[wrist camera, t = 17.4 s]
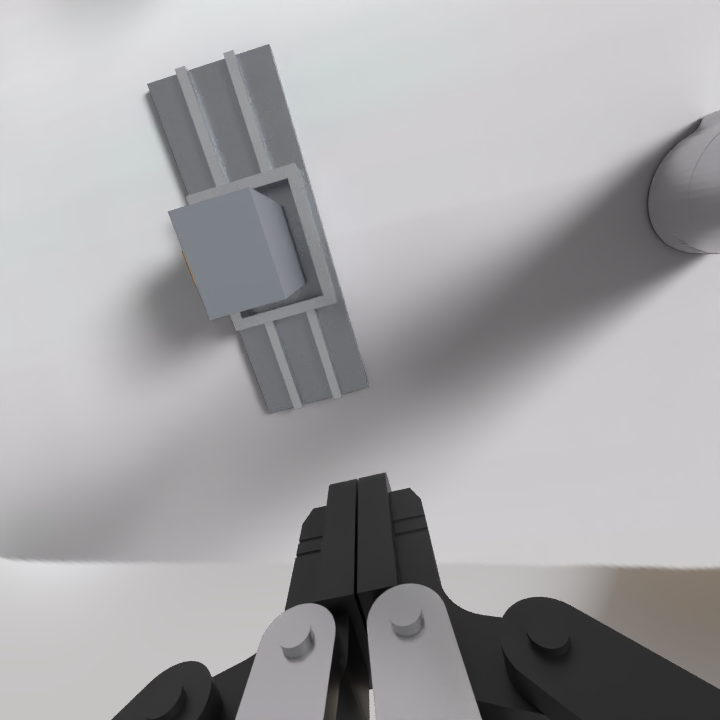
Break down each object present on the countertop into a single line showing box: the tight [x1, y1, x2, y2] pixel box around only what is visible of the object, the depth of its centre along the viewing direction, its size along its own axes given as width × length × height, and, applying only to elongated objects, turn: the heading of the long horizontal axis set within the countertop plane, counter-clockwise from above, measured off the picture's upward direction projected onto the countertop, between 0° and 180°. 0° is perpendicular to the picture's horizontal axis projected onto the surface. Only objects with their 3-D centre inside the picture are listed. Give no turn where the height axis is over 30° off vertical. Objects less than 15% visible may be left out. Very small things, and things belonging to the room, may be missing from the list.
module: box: [168, 187, 306, 320], centre depth 26 cm, size 6×5×10 cm
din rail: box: [147, 44, 369, 413], centre depth 30 cm, size 26×9×3 cm, turn 16°
